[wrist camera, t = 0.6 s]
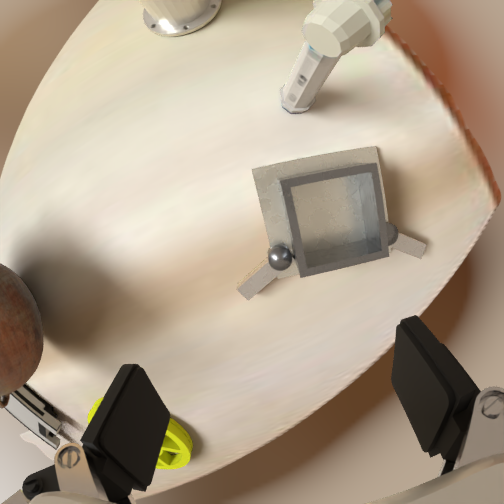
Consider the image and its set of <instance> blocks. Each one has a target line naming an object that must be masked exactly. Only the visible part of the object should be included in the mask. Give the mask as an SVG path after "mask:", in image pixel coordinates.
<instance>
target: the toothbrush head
mask: <svg viewBox="0 0 504 504" xmlns="http://www.w3.org/2000/svg"><path fill="white" fill-rule="evenodd" d="M391 6H392V3H391V2H390V0H314V1H313V7H314V9H313V10H312V11H311V12H310V13H309V14H308V15H307V16H306V19H305V22H304V24H303V28H302V34H303V36H304V39H305V42H304V44H303V46H302V49H301V51H300V53H299V55H298V57H297V60H296V62H295V64H294V66H293V68H292V71H291V73H290V75H289V77H288V80H287V82H286V84H285V85H284V86H283V87H282V88H281V89H280V95H281V102H282V107H283V108H284V109H285V110H287V111H288V112H289V113H290V114H297V113H303V111H307V110H308V109H309V108H310V107H311V106H312V104H313V103H314V102H315V101H316V99H315V96H316V94H317V93H318V91H319V90H320V88H321V87H322V85H323V83H324V82H325V80H326V79H327V77H328V76H329V74H330V73H331V71H332V70H333V68H334V66H335V65H336V63H337V62H338V60H339V59H340V57H341V56H342V55H345V54H347V53H348V52H349V51H351V50H352V49H353V48H354V47H367V46H372V45H373V44H374V43H375V42H376V41H377V40H378V39H379V38H380V37H381V36H382V35H383V34H384V33H385V28H384V27H385V26H386V25H387V24H388V22H390V20H391V19H392V17H391V8H390V7H391Z"/></svg>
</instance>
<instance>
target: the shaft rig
mask: <svg viewBox="0 0 504 504" xmlns="http://www.w3.org/2000/svg"><path fill="white" fill-rule="evenodd" d="M252 173H253V177H254V181H255V185H256V189H257V193H258V197H259V201H260V205H261V210H262V214H263V218H264V222H265V226H266V231H267V235H268V239H269V243H270V248H269V250H268V257H267V258H266V259H265V260H263V261H262V262H261V263H260V264H259V265H258V266H257V267H256V268H254V269H253V270H252V271H251V272H250V273H249V274H248V275H246V276H245V277H244V278H243V279H242V280H241V281H240V282H238V285H237V290H238V291H239V292H240V293H241V294H242V295H243V296H244V297H245V298H246V299H247V300H250V299H251V298H252V297H253V296H254V295H256V294H257V293H258V292H259V291H260V290H261V289H263V288H264V287H265V286H266V285H267V284H269V283H270V282H271V281H272V280H273V279H274V278H276V277H277V278H278V279H280V278H285V277H289V276H294V275H298V274H300V277H301V278H302V277H306V276H311V275H315V274H319V273H324V272H328V271H332V270H337V269H341V268H345V267H349V266H353V265H357V264H361V263H365V262H369V261H373V260H377V259H381V258H385V257H389V253H390V252H391V248H394V249H396V250H399V251H402V252H404V253H407V254H410V255H412V256H415V257H417V258H420V259H421V258H422V256H423V253H424V251H425V248H426V246H427V245H426V244H424V243H423V242H421V241H419V240H416V239H414V238H412V237H409V236H407V235H404V234H402V233H400V232H398V229H397V227H396V226H395V225H393V224H391V223H389V222H388V214H387V206H386V199H385V192H384V186H383V180H382V174H381V169H380V163H379V158H378V153H377V148H376V146H375V147H367V148H360V149H354V150H347V151H341V152H335V153H329V154H324V155H318V156H313V157H308V158H302V159H297V160H292V161H288V162H283V163H278V164H274V165H269V166H265V167H260V168H256V169H252Z"/></svg>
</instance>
